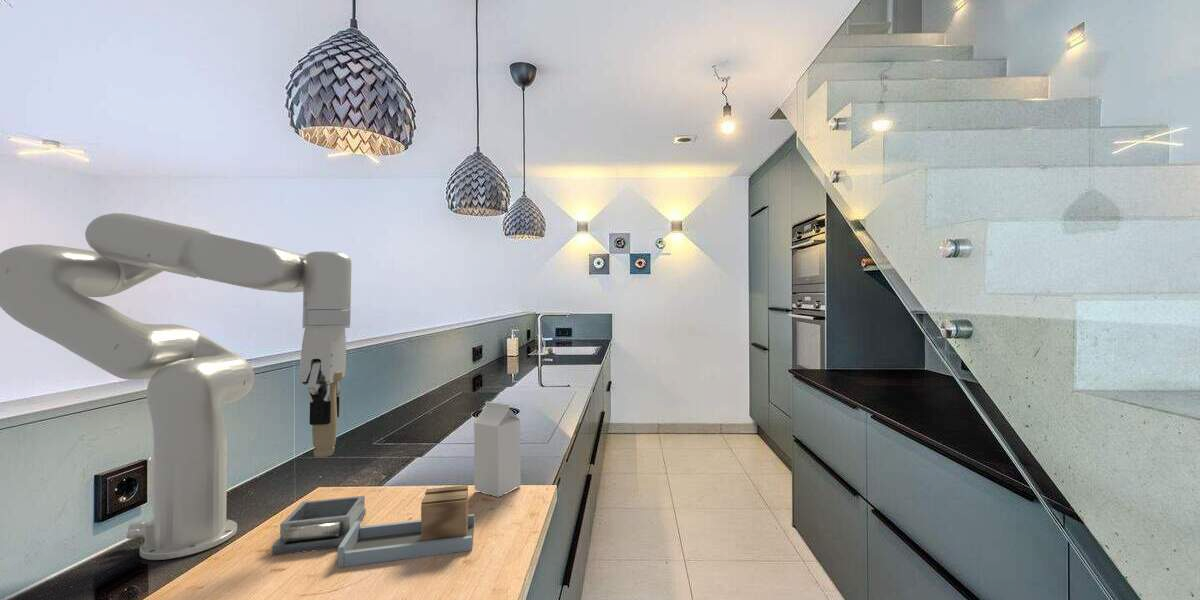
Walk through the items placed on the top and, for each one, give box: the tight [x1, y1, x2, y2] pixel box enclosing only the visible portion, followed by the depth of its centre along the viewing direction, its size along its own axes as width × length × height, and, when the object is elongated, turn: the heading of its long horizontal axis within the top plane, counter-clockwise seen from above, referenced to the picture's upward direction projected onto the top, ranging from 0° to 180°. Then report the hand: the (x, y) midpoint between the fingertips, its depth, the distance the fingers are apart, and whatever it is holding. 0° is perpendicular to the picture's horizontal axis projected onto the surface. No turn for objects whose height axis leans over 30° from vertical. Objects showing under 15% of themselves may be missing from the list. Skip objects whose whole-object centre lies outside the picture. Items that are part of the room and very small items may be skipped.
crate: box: [420, 484, 469, 542], centre depth 79 cm, size 7×7×7 cm
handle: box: [311, 371, 343, 458], centre depth 84 cm, size 5×6×15 cm
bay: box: [337, 513, 475, 568], centre depth 78 cm, size 20×9×3 cm, turn 103°
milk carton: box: [473, 401, 522, 498], centre depth 102 cm, size 7×7×19 cm
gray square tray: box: [271, 495, 367, 557], centre depth 82 cm, size 11×12×4 cm
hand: (324, 420), depth 84 cm, fingers closed on handle, 3 cm apart
